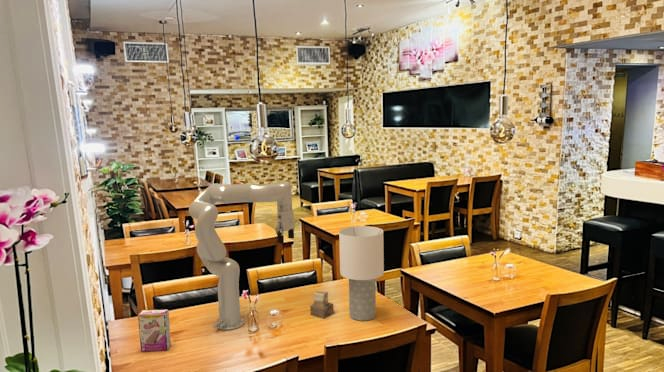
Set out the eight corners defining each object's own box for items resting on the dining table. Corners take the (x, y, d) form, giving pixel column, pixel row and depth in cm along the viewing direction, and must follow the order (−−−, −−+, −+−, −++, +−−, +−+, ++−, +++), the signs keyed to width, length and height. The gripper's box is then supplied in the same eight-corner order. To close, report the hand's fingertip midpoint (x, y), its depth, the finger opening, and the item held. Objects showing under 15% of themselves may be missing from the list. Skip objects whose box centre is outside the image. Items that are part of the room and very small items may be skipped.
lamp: (373, 304, 228) (372, 224, 222) (391, 321, 208) (390, 233, 202) (335, 310, 222) (333, 228, 216) (349, 328, 202) (347, 238, 196)
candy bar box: (140, 352, 186) (137, 314, 183) (145, 346, 190) (141, 309, 188) (167, 351, 186) (164, 313, 184) (171, 345, 191) (168, 308, 188)
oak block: (323, 307, 214) (322, 295, 214) (314, 305, 217) (313, 293, 216) (328, 303, 219) (327, 291, 218) (319, 301, 221) (319, 290, 220)
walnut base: (323, 319, 213) (323, 309, 212) (310, 315, 217) (310, 305, 217) (333, 313, 219) (333, 303, 218) (320, 309, 224) (320, 300, 223)
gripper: (281, 211, 216) (283, 245, 218) (299, 204, 231) (301, 237, 234) (268, 210, 219) (270, 244, 222) (287, 204, 234) (288, 235, 237)
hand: (286, 240), depth 228 cm, fingers open, 9 cm apart
